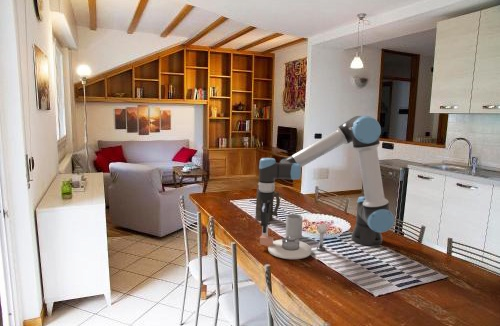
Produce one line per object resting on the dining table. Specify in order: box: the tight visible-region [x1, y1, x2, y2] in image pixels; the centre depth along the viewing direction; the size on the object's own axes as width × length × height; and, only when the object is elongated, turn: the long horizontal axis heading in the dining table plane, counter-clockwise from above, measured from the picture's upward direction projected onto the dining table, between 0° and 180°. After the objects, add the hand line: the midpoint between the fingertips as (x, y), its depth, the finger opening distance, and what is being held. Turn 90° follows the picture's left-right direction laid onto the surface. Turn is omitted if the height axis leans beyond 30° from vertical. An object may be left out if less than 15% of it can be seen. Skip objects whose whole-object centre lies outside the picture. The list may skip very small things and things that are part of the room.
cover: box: [281, 236, 300, 251], centre depth 162 cm, size 8×8×5 cm
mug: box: [284, 213, 304, 240], centre depth 184 cm, size 12×8×11 cm
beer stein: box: [255, 185, 281, 222], centre depth 210 cm, size 15×11×20 cm
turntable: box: [259, 235, 312, 260], centre depth 162 cm, size 24×20×5 cm
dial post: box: [316, 223, 328, 252], centre depth 166 cm, size 4×4×13 cm
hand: (264, 238), depth 168 cm, fingers closed
